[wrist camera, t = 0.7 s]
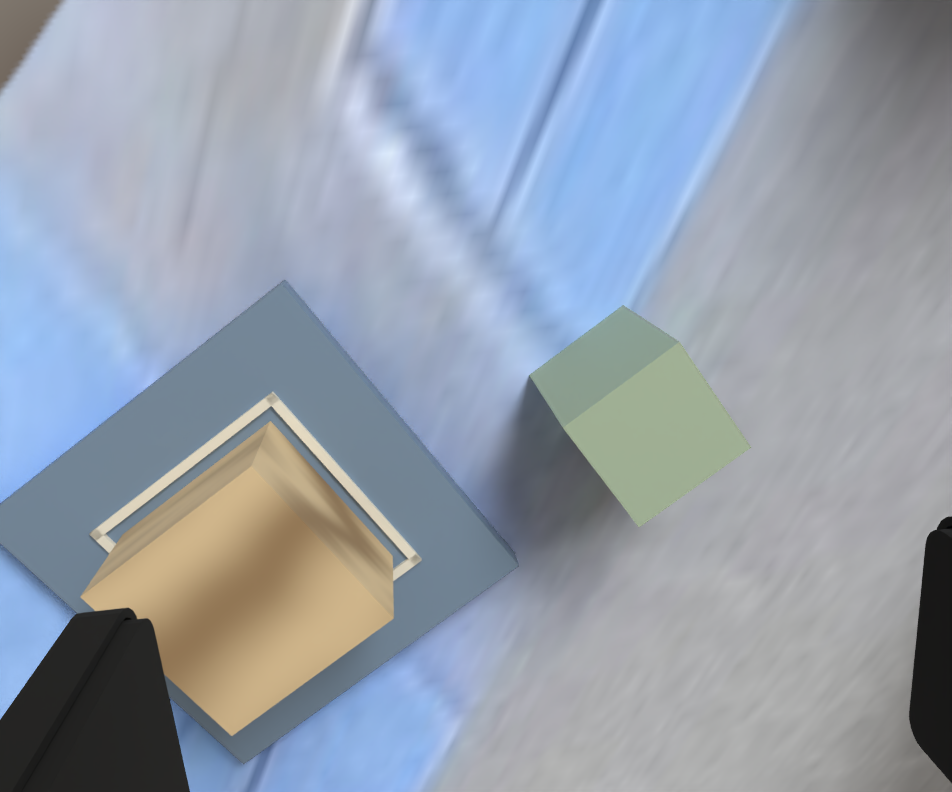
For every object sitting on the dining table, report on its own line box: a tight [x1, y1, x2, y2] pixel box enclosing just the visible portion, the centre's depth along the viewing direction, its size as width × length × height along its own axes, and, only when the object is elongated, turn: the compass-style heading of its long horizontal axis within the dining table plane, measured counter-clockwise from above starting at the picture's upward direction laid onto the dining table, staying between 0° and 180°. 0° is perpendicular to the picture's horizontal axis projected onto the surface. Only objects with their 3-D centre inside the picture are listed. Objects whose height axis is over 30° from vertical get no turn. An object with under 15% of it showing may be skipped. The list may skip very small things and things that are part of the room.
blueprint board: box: [0, 280, 519, 764], centre depth 35 cm, size 16×16×1 cm
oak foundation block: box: [80, 421, 394, 736], centre depth 33 cm, size 8×8×5 cm
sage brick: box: [529, 305, 751, 527], centre depth 32 cm, size 5×5×7 cm
